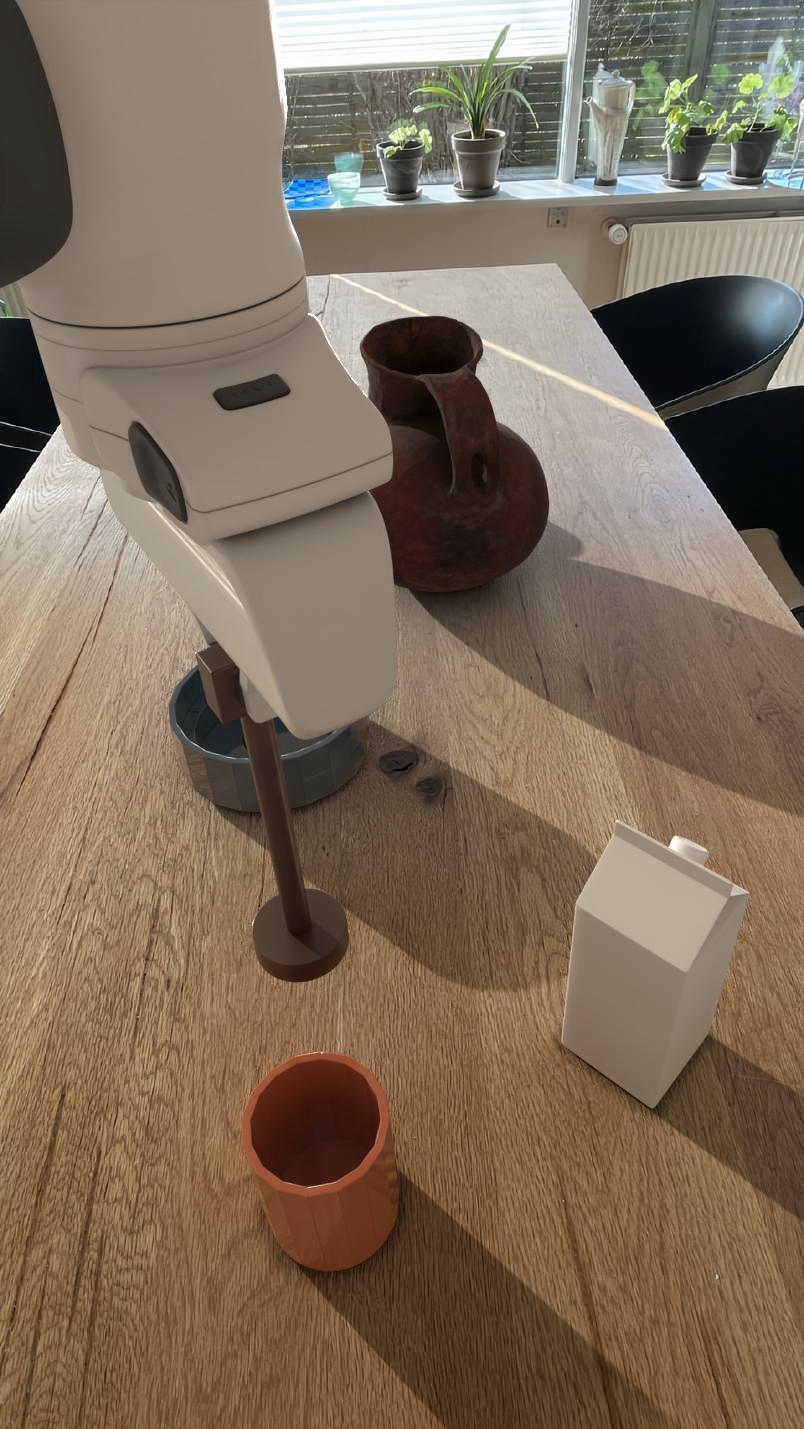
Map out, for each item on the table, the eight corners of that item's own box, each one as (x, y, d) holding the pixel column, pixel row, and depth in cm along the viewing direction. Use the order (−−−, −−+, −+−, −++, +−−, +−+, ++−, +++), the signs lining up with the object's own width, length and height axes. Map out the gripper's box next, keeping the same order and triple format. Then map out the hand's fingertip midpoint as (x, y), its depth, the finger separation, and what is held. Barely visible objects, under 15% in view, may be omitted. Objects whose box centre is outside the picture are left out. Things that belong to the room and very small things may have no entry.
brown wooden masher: (281, 999, 50) (208, 703, 37) (240, 932, 54) (161, 639, 40) (366, 953, 52) (326, 656, 39) (321, 891, 55) (271, 598, 42)
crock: (306, 1301, 53) (282, 1227, 46) (247, 1181, 58) (218, 1099, 51) (424, 1220, 56) (417, 1140, 49) (357, 1112, 61) (343, 1027, 54)
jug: (345, 640, 100) (319, 412, 84) (322, 525, 119) (298, 321, 103) (574, 609, 102) (592, 380, 86) (516, 501, 121) (522, 297, 105)
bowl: (230, 848, 79) (216, 793, 74) (156, 735, 90) (140, 682, 86) (405, 765, 85) (401, 710, 81) (315, 670, 96) (308, 617, 92)
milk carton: (652, 1111, 60) (698, 926, 48) (559, 1044, 64) (579, 857, 51) (709, 1034, 64) (765, 844, 51) (618, 975, 67) (649, 785, 55)
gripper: (15, 315, 38) (104, 605, 47) (216, 517, 24) (287, 871, 33) (164, 283, 40) (222, 564, 49) (424, 450, 27) (438, 797, 35)
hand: (250, 690), depth 41 cm, fingers closed on brown wooden masher
